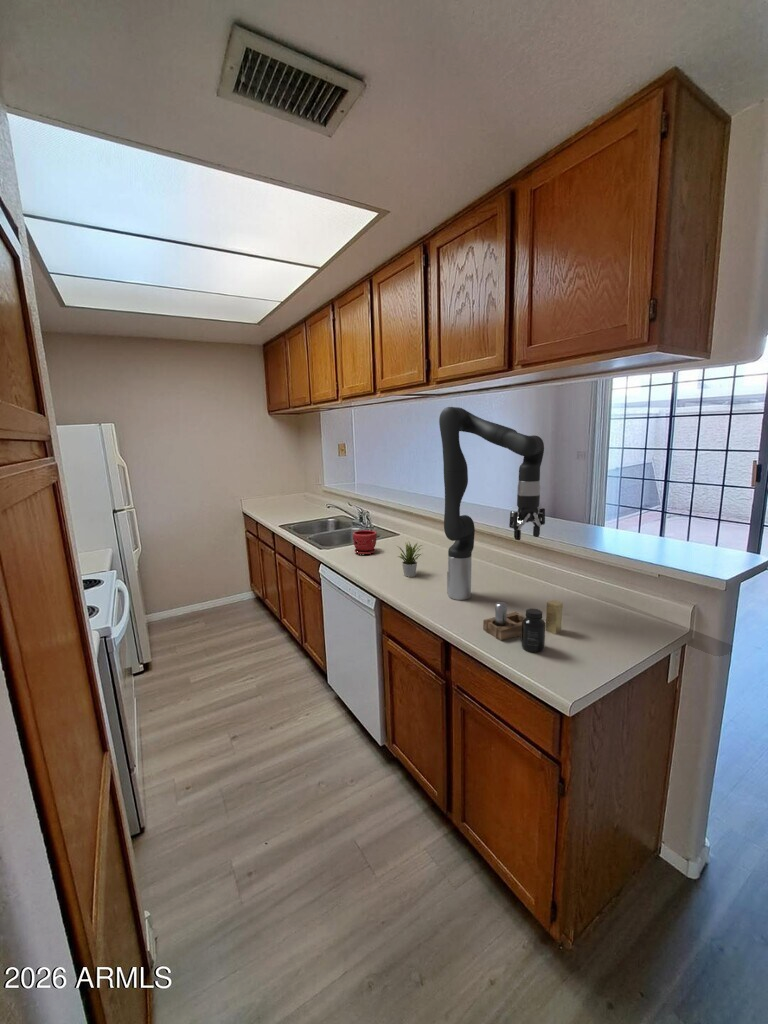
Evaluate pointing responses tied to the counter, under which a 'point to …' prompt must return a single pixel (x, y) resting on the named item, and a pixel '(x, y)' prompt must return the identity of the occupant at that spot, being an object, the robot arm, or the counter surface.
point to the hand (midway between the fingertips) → (526, 538)
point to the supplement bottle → (533, 631)
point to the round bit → (500, 614)
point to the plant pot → (362, 545)
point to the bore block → (508, 631)
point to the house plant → (409, 560)
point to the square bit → (554, 616)
